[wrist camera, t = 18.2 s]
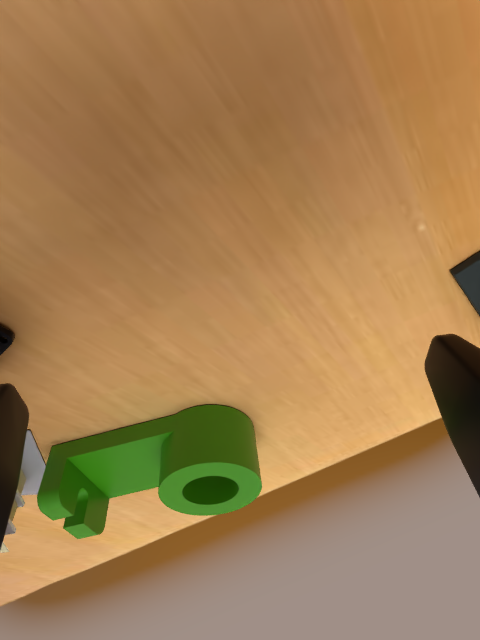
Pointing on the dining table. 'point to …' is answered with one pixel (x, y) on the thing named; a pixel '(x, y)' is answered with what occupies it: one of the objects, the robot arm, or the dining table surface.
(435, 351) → the robot arm
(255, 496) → the green bracket
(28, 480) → the stacked layers on plate
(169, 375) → the dining table surface
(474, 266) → the front mat
